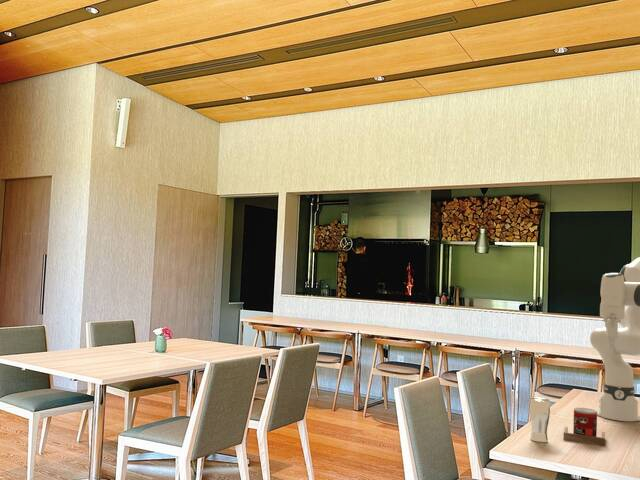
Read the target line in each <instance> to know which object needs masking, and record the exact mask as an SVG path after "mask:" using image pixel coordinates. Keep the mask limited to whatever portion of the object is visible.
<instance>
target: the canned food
mask: <svg viewBox="0 0 640 480" xmlns="http://www.w3.org/2000/svg"><path fill="white" fill-rule="evenodd" d="M597 411H598V410H595V409H592V408H588V407H587V408H586V407H575V408H573V434H580V435H587V436H594V437H598V436H597V433H598V432H597V431H598V415H597Z"/></svg>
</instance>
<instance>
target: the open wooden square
mask: <svg viewBox="0 0 640 480" xmlns="http://www.w3.org/2000/svg"><path fill="white" fill-rule="evenodd" d="M568 428H569V426H564V429H563V440H564V441H572V442H577V443H578V442H579V443H584V444H585V443H586V444H591V445H598V446H604V447H605V446H606V433H605V431H601V436H597V437H594V436H587V435H580V434H573V433H572V432H568V431H569V430H568Z"/></svg>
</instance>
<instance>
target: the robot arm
mask: <svg viewBox="0 0 640 480" xmlns="http://www.w3.org/2000/svg"><path fill="white" fill-rule="evenodd" d="M620 269H621V270H620V272H608V273H605V274H602V277H601V282H600V291H599V292H600V297H601V300H600V301H601V302H600V304H599V317H600V318H602V319H603V323H604V325H605V327H597V328H595V329H593V330H592V331H591V333H590V336H589V340H590V345H591V346H592V347H593V349H595V350H596V351H597V352H598V354H599V355H600V357H601V359H602V361H603V365H604V377H605V379H604V380H605V383H604V384H603V391H604V393H603V394H602V395H601V396H600V398H599V400H598V403H599V405H598V407H599V409H598V410H596V411H597V417H602V418H604V419H609V420H614V421H620V422H640V415H639V400H637V399H636V398H635V386H634V369H633V367H632V366H631V365H630V364H628V363H627V362H626V361H625V360H624V359H623V356H622V355H627V356H634V357H636V356H637V357H638V356H639V357H640V257H637V258H635V259H633V261H631V262H630V263H627V264H625V265H623V267H622V268H620ZM619 325H620V326H621V327H622V328H619Z"/></svg>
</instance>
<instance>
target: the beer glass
mask: <svg viewBox="0 0 640 480" xmlns="http://www.w3.org/2000/svg"><path fill="white" fill-rule="evenodd" d="M550 401H551V400H550V399H549V398H545V397H535V396H533V397H530V404H529V417H530V423H531V434H530V440H531V441H533V442H537V443H541V444H542V443H543V444H544V443H545V444H546V443H548V442H549V437H548V427H549V422H550V417H551V403H550Z"/></svg>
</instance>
